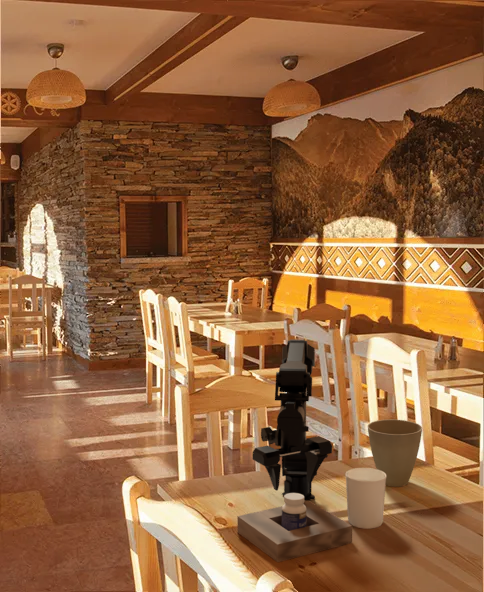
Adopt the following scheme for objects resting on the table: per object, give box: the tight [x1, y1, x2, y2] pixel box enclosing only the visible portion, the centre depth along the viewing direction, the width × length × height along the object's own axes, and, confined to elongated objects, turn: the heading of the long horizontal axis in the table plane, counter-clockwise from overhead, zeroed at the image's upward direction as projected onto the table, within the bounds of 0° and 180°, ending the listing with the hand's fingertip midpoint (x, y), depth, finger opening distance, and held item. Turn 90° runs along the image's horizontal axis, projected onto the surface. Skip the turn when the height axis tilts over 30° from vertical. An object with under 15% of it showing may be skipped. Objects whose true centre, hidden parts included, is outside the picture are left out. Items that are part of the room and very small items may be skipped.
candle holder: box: [345, 467, 387, 530], centre depth 190 cm, size 10×10×12 cm
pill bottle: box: [282, 493, 306, 531], centre depth 181 cm, size 6×6×10 cm
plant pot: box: [367, 419, 423, 488], centre depth 217 cm, size 15×15×16 cm
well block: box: [236, 500, 353, 563], centre depth 182 cm, size 20×18×4 cm
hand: (292, 486), depth 182 cm, fingers open, 9 cm apart
